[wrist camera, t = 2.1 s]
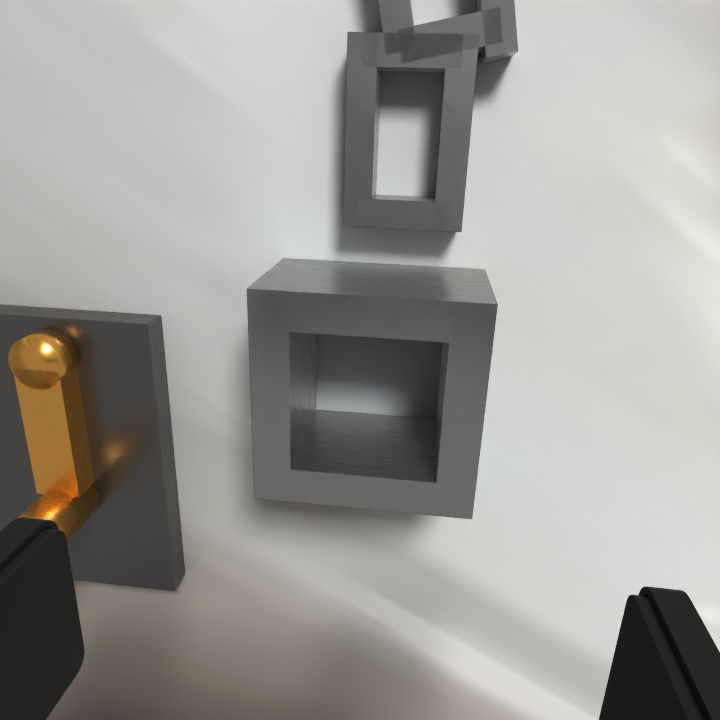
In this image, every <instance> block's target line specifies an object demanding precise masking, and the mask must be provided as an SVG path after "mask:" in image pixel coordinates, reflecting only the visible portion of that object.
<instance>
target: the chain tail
mask: <svg viewBox="0 0 720 720" xmlns="http://www.w3.org/2000/svg"><path fill="white" fill-rule="evenodd" d="M378 4H379V11H380V18H381V25H382V32H348V40H347V86H346V133H345V180H344V226H352V227H372V228H392V229H412V230H432V231H452V232H461V230H462V219H463V208H464V198H465V187H466V176H467V165H468V154H469V143H470V133H471V122H472V111H473V100H474V89H475V78H476V67H477V57H478V53H479V52H482V58H483V62H488V61H493V60H498V59H503V58H508V57H512V56H513V55H514V54H515V53H516V52H518V43H517V31H516V18H515V5H514V0H477V7H478V12H475V13H470V14H466V15H461V16H457V17H452V18H448V19H443V20H439V21H434V22H430V23H425V24H421V25H416V26H414V23H413V16H412V8H411V0H378ZM381 71H401V72H442V73H445V76H444V89H443V102H442V115H441V129H440V142H439V155H438V169H437V182H436V195H435V198H433V197H410V196H388V195H376V177H377V152H378V127H379V102H380V77H381Z"/></svg>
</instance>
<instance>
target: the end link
mask: <svg viewBox="0 0 720 720" xmlns="http://www.w3.org/2000/svg"><path fill="white" fill-rule="evenodd" d="M497 305H498V304H497V301H496V298H495V295H494V293H493V290H492V287H491V285H490V282H489V279H488V276H487V274H486V271H485V270H482V269H464V268H447V267H429V266H411V265H393V264H375V263H357V262H339V261H321V260H304V259H286V258H283V259H282V260H281V261H280V262H278V263H277V264H276V265H275V266H274V267H272V268H271V269H270V270H269V271H268V272H266V273H265V274H264V275H263V276H261V277H260V278H259V279H258V280H257V281H255V282H254V283H253V284H252V285H251V286H249V287H248V288H247V308H248V334H249V360H250V386H251V413H252V439H253V465H254V491H255V498H258V499H268V500H278V501H289V502H299V503H309V504H320V505H330V506H340V507H351V508H361V509H371V510H382V511H392V512H402V513H413V514H423V515H433V516H444V517H454V518H464V519H472V515H473V506H474V498H475V490H476V481H477V473H478V464H479V456H480V448H481V439H482V431H483V423H484V414H485V406H486V397H487V389H488V381H489V372H490V364H491V356H492V347H493V339H494V330H495V322H496V314H497ZM317 334H328V335H343V336H357V337H372V338H387V339H401V340H416V341H431V342H443V347H442V359H441V370H440V382H439V393H438V405H437V416H436V419H424V418H412V417H399V416H387V415H375V414H362V413H350V412H338V411H325V410H316V363H317Z"/></svg>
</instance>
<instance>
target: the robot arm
mask: <svg viewBox="0 0 720 720" xmlns="http://www.w3.org/2000/svg"><path fill="white" fill-rule="evenodd" d="M83 658H84V644H83V638H82V632H81V626H80V620H79V613H78V607H77V601H76V595H75V589H74V582H73V576H72V570H71V564H70V558H69V551H68V545H67V539H66V535H65V533H64V532H63V531H61V530H59V528H58V525H57V524H56V523H55V522H54V521H51V520H43V519H34V518H25V517H20V518H16V519H15V520H13V521H12V522H10V523H9V524H8V525H7V526H6V527H5V528H4V529H2V530H1V531H0V720H46V719H47V717H48V716H49V714H50V713H51V711H52V710H53V708H54V707H55V706H56V704H57V703H58V701H59V700H60V698H61V697H62V695H63V694H64V692H65V691H66V690H67V688H68V687H69V685H70V684H71V682H72V681H73V679H74V678H75V677H76V675H77V673H78V672H79V670H80V668H81V665H82V662H83ZM599 720H720V652H719V650H718V649H717V647H716V645H715V643H714V641H713V640H712V638H711V636H710V634H709V632H708V630H707V629H706V627H705V625H704V623H703V621H702V620H701V618H700V616H699V614H698V612H697V611H696V609H695V607H694V605H693V603H692V601H691V600H690V598H689V596H688V595H687V594H686V593H685V592H684V591H681V590H672V589H663V588H654V587H643V588H642V589H641V590H640V593H639V596H638V595H630V596H629V597H628V599H627V602H626V606H625V611H624V615H623V619H622V623H621V628H620V632H619V636H618V640H617V645H616V649H615V653H614V657H613V662H612V666H611V670H610V675H609V679H608V683H607V687H606V692H605V696H604V700H603V704H602V709H601V713H600V717H599Z"/></svg>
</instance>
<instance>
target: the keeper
mask: <svg viewBox="0 0 720 720" xmlns="http://www.w3.org/2000/svg"><path fill="white" fill-rule="evenodd" d="M20 517H25V518H34V519H43V520H51V521H54V522H55V523H56V524H57V525H58V528H59V530H61V531H63V532H64V533H65V535H66V539H67V545H68V551H69V558H70V564H71V570H72V576H73V580H82V581H91V582H100V583H108V584H117V585H126V586H135V587H143V588H152V589H161V590H170V591H175V590H176V589H177V587H178V585H179V583H180V582H181V580H182V578H183V576H184V575H185V568H184V557H183V546H182V535H181V525H180V514H179V503H178V492H177V482H176V471H175V460H174V449H173V439H172V428H171V417H170V406H169V396H168V385H167V374H166V363H165V353H164V342H163V331H162V320H161V315H147V314H132V313H117V312H102V311H87V310H72V309H57V308H42V307H28V306H13V305H0V531H1V530H2V529H4V528H5V527H6V526H7V525H8V524H9V523H10V522H12V521H13V520H15V519H16V518H20Z"/></svg>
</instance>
